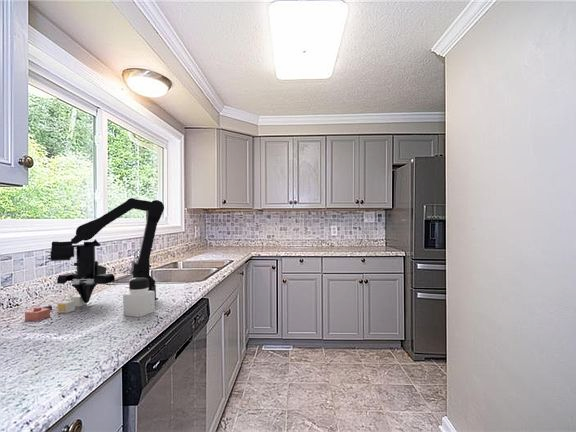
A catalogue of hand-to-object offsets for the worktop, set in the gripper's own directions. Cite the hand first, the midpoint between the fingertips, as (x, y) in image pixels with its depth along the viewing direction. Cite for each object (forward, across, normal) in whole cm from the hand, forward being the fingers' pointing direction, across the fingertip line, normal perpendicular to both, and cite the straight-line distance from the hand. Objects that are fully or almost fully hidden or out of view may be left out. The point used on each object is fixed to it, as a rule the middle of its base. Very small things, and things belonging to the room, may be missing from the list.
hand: (86, 302), depth 122 cm
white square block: (+1, +3, 0) cm, 3 cm away
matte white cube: (+1, +1, +8) cm, 8 cm away
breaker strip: (+2, +4, +4) cm, 6 cm away
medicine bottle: (+2, -23, +4) cm, 23 cm away
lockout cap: (+2, +4, +16) cm, 17 cm away
